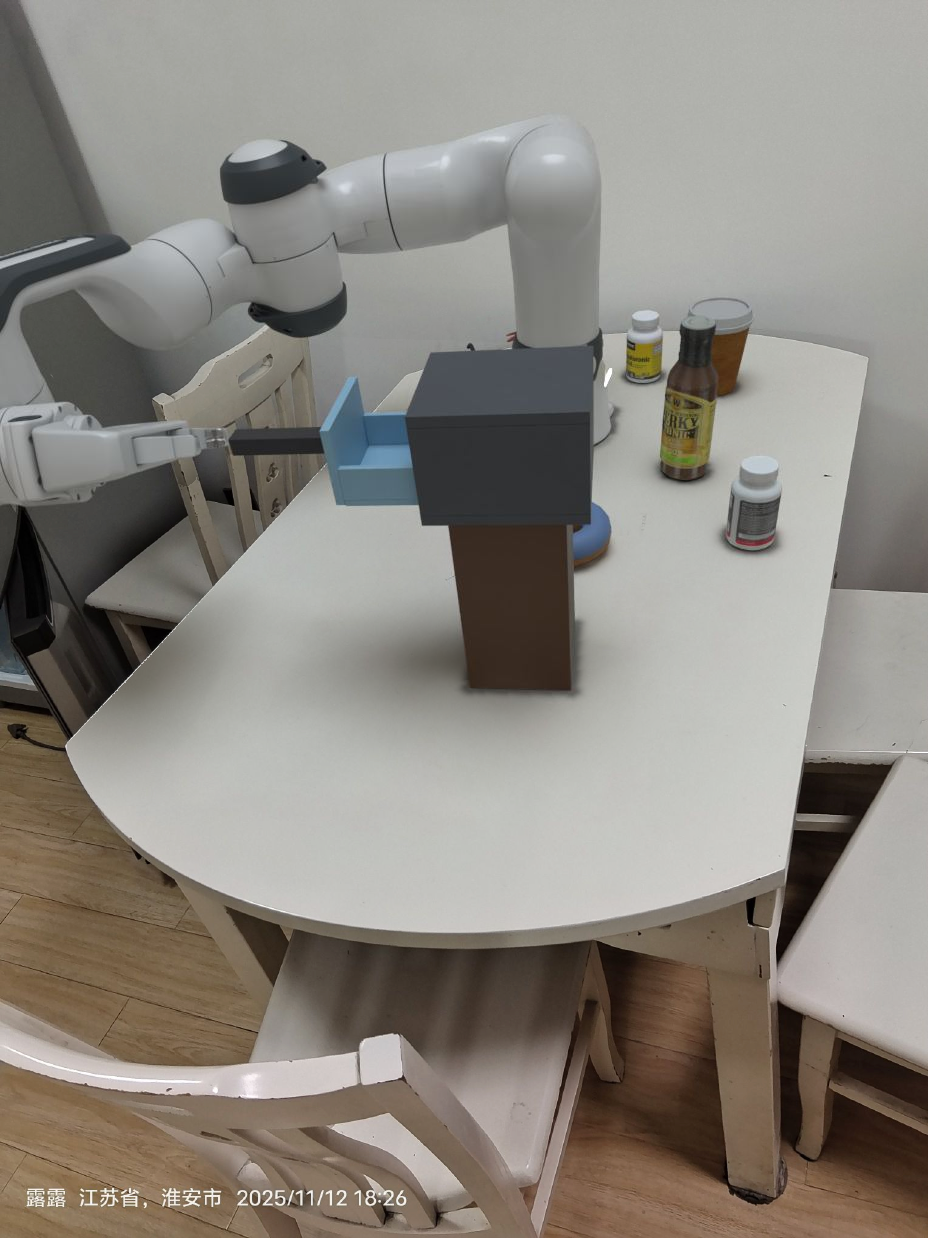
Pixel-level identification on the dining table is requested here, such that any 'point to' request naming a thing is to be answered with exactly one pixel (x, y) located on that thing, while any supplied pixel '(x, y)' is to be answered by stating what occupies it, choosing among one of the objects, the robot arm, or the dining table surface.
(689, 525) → the dining table surface
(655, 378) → the supplement bottle
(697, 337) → the sauce bottle
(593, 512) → the doughnut
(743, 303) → the disposable coffee cup
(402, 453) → the tray
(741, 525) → the pill bottle
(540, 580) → the dispenser
